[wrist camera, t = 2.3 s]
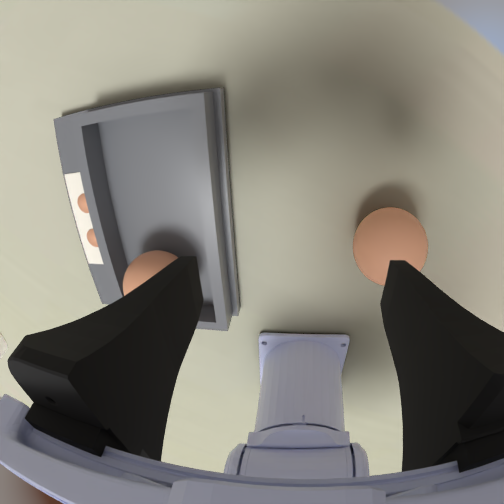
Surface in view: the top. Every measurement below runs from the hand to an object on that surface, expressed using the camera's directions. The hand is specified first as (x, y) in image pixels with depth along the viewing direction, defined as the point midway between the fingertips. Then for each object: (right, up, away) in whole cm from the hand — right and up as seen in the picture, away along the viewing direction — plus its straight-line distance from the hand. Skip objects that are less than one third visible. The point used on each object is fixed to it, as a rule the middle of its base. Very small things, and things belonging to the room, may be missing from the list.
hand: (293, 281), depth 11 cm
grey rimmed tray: (-9, +4, +11) cm, 15 cm away
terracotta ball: (+8, +3, +9) cm, 12 cm away
